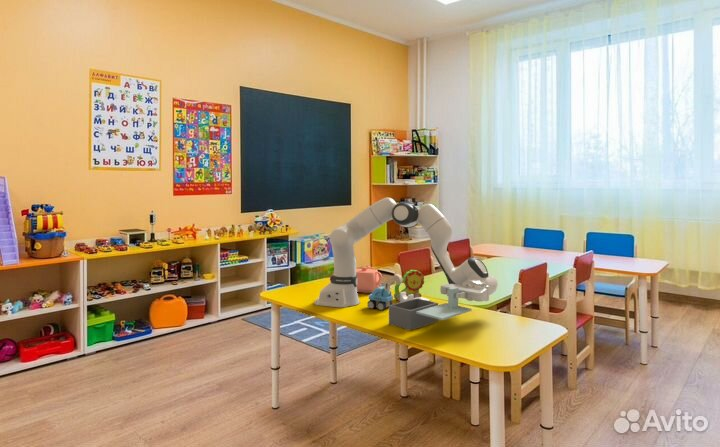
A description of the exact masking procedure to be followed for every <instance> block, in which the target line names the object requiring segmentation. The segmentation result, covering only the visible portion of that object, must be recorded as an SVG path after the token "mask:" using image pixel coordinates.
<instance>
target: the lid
mask: <svg viewBox="0 0 720 447" xmlns="http://www.w3.org/2000/svg"><path fill="white" fill-rule="evenodd" d="M455 293H458V288H457V287H453V288H449V289H448V296H447V297H448V298H447V300H448V301H447V302H448V303H447V302H444V303H441V304H438V305H437V306H434V307H430V308H427V309H423V310H420V311H416V314H420V315H424V316H428V317H431V318H435V319H438V321H446V320H449V319H452V318H454V317H457V316H460V315H463V314H466V313H469V312H472V310H473V309H472V308H469V307H465V306H461V305H459V298H454V294H455Z"/></svg>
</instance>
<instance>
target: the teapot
mask: <svg viewBox="0 0 720 447" xmlns="http://www.w3.org/2000/svg"><path fill="white" fill-rule="evenodd" d="M356 275H357V292H359V293H365V294H372V292H373V290H374V289H376V288H378V287H381V286H382V284H381V283H380V282H381V280H382V278H383V275H382V273H381V272H380V271H378V269H375V268H371V265H367V266H361V268H356Z"/></svg>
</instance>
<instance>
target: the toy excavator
mask: <svg viewBox="0 0 720 447" xmlns="http://www.w3.org/2000/svg"><path fill="white" fill-rule="evenodd" d="M402 278H403V276H402V275H401V274H399V273H396V274H393V276H391V277H390V278H387V279H386V280H385V282H384V286H382V285H381V287H378V288H376V289H374V290H373V292H372V293H369V295H368V299H369V300H368V301H367V308H368V309H375V308H376V309H378V310H380V311H381V312H382V311H384V310H386V309H387V308H389V305H392V304H393V300H394V295H392V291H391V284H393V283H394V282H396V283H397V285H399V284H400V285H401V284H403V283H402V281H403V279H402ZM396 283H395V284H396Z"/></svg>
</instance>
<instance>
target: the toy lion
mask: <svg viewBox="0 0 720 447" xmlns="http://www.w3.org/2000/svg"><path fill="white" fill-rule="evenodd" d="M402 279H403V281H402V283H401V284H404V285H405V286H404V288H403V289H402V290H401V291H400V288H399V287H400V286H401V284H399V285H397V283H395V285H394V294H393V299H395V300H397V301H399V302H400V292H406V296H407V297H408V295H411V294H413V295H414V298H418V297H422V293H420V289H422V288H423V285H424V284H425V276H424V275H423V273H422V272H420V271H418V270H416V269H410V270H409V271H406V272H405V273H404V275H403V276H402Z"/></svg>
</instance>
